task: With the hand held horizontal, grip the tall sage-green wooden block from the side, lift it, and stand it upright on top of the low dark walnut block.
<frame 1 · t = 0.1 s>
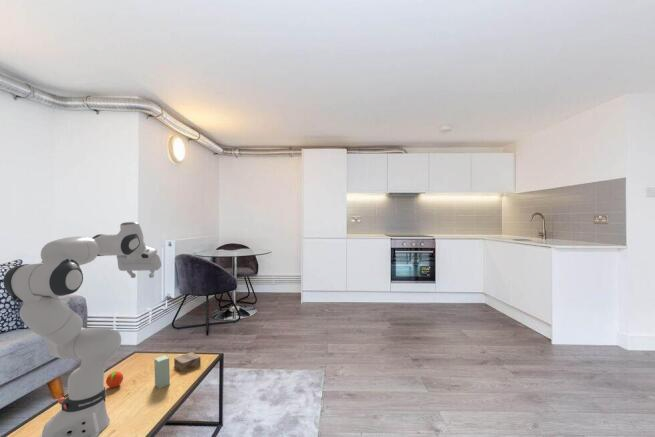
hand: (142, 277, 160), 52 cm above the table, tool tilted 20°, fingers open, 8 cm apart
red tomato: (114, 387, 153), on the table
sage block: (162, 384, 154), on the table
walnut block: (187, 365, 173), on the table
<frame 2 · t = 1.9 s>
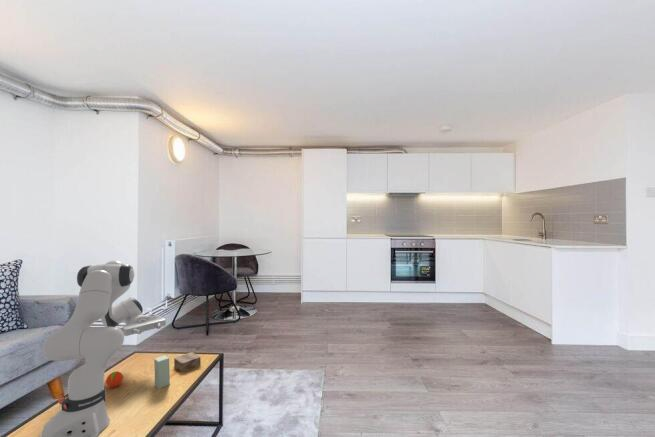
hand: (149, 329, 164), 24 cm above the table, tool horizontal, fingers open, 8 cm apart
nothing on the table moved.
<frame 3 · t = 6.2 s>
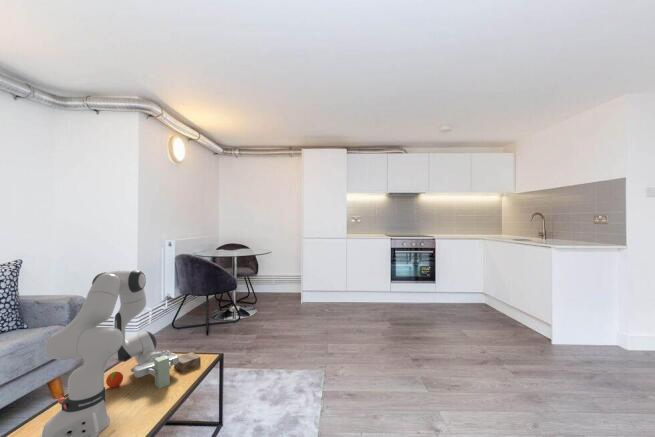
hand: (162, 369, 153), 8 cm above the table, tool horizontal, fingers closed on sage block, 5 cm apart
sage block: (162, 384, 154), on the table, touching gripper
everything else where it was.
when the fingers open (13 cm above the table, at t = 11.3 s): sage block drops 1 cm, resting on walnut block.
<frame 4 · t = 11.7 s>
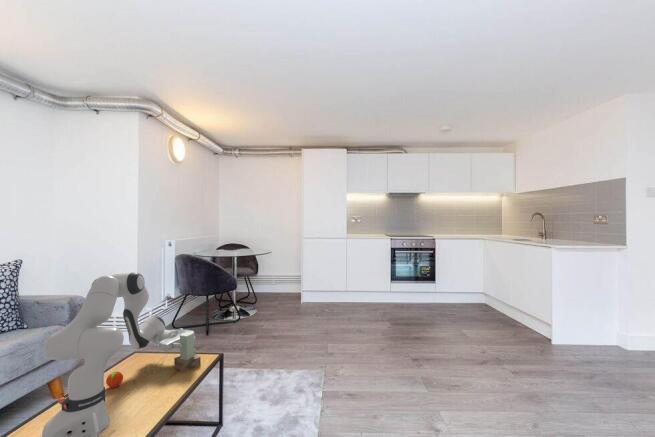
hand: (188, 341, 173), 13 cm above the table, tool horizontal, fingers open, 8 cm apart
sage block: (187, 357, 173), point 4 cm above the table, touching walnut block
everything else where it was.
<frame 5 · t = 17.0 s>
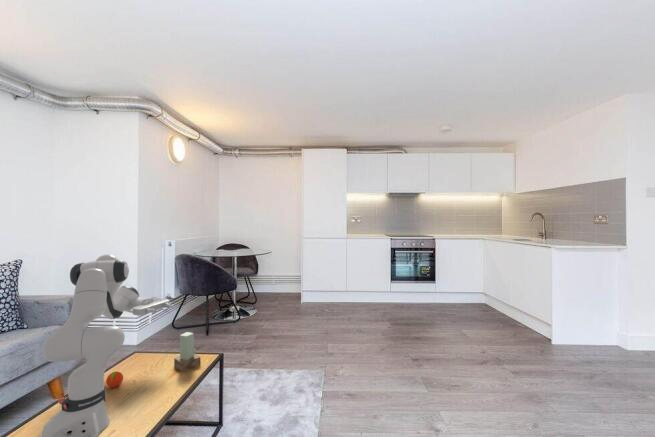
hand: (162, 308, 173), 32 cm above the table, tool horizontal, fingers open, 8 cm apart
nothing on the table moved.
at the end: sage block inside the target area on the walnut block (0.0 cm from its centre), point 4.5 cm above the walnut block's base; sage block tilted 0°; the gripper is holding nothing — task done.
